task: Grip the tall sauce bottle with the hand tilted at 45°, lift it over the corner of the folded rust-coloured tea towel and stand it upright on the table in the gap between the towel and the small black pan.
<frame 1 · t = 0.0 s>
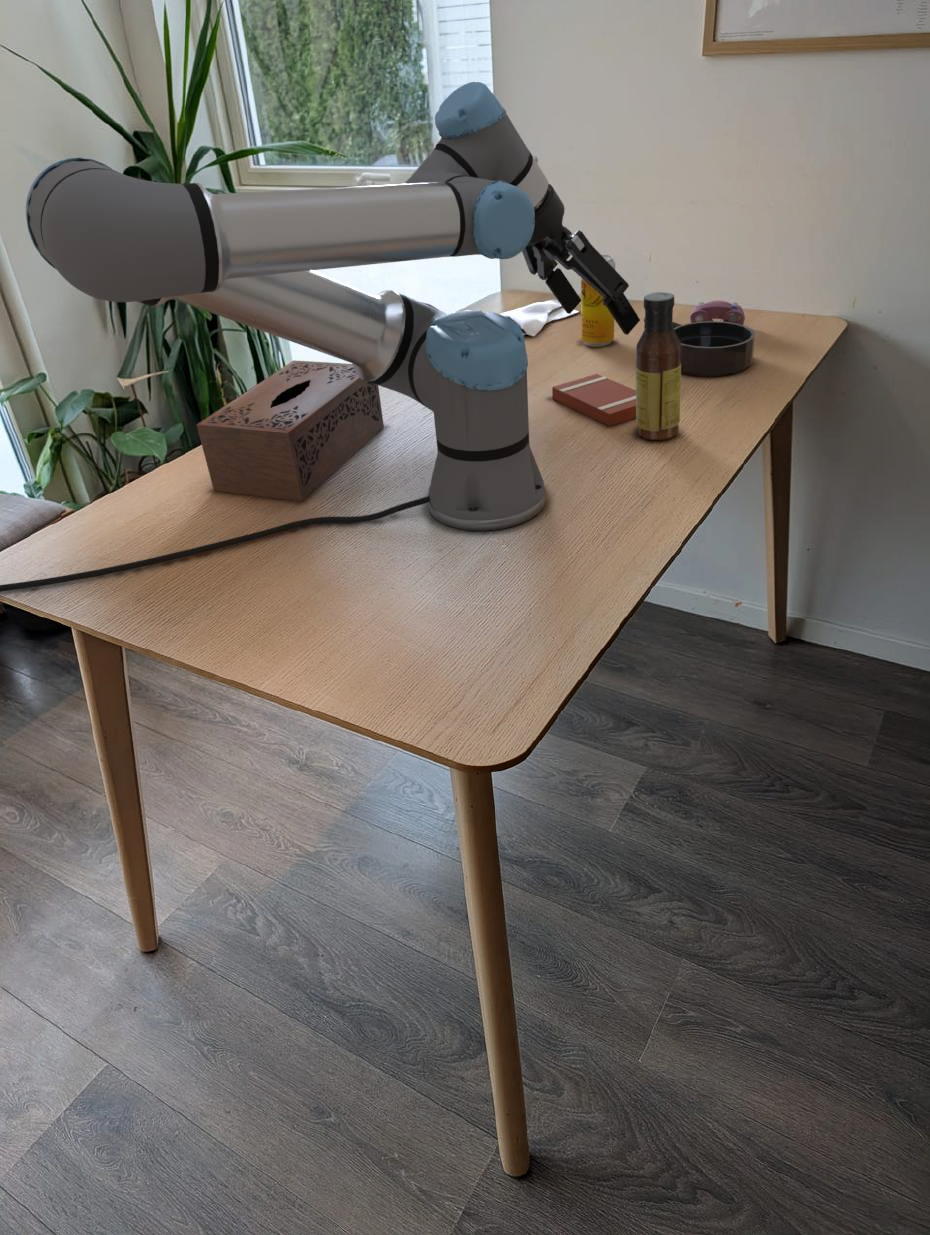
hand: (602, 316, 129), 15 cm above the table, tool tilted 35°, fingers open, 13 cm apart
sauce bottle: (656, 435, 131), on the table
beer can: (597, 343, 166), on the table
tissue box cover: (303, 458, 134), on the table
video game controller: (715, 331, 167), on the table
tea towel: (602, 404, 141), on the table
pan: (708, 363, 153), on the table
cloth: (528, 322, 181), on the table
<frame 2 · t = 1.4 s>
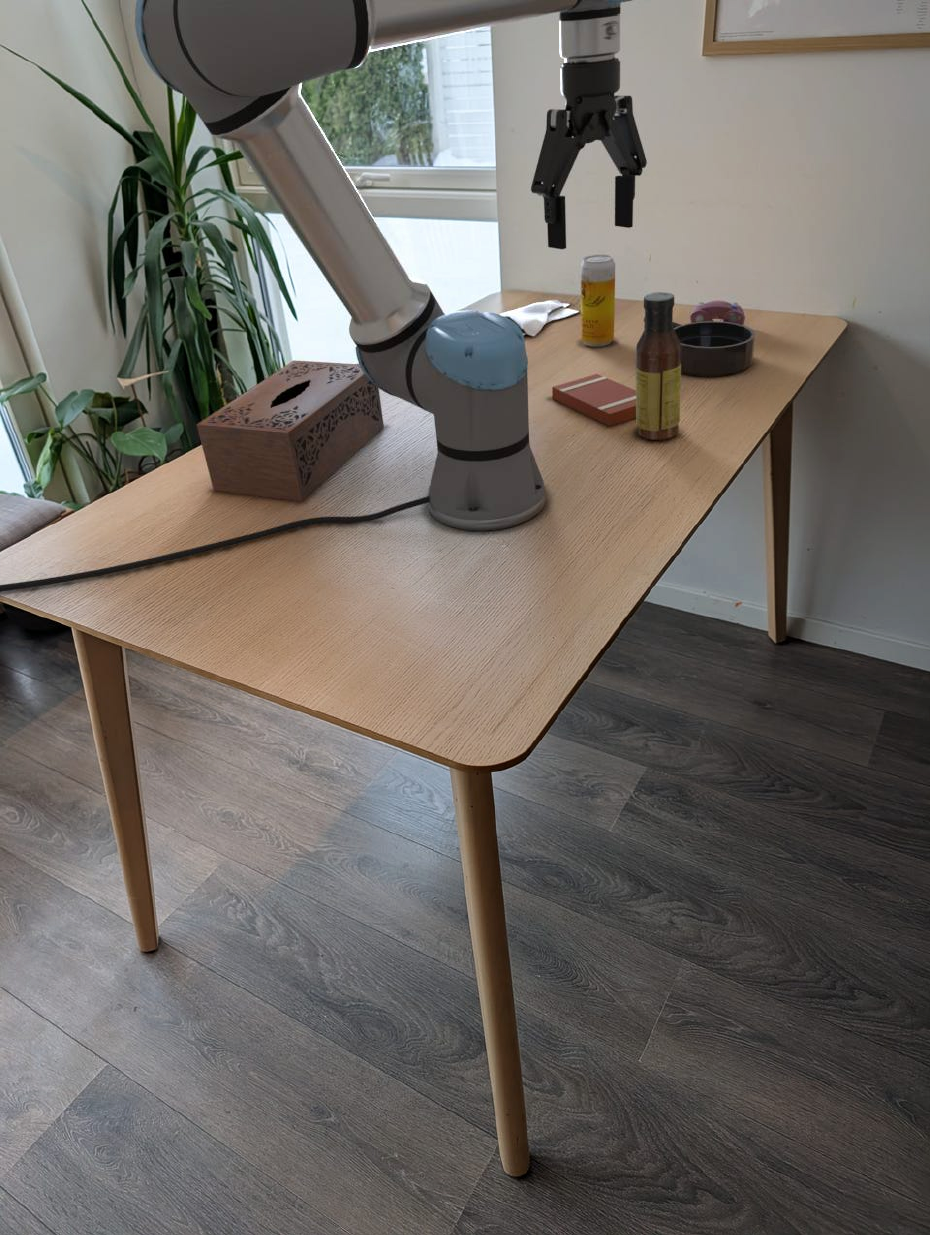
hand: (591, 237, 125), 26 cm above the table, tool pointing down, fingers open, 13 cm apart
nothing on the table moved.
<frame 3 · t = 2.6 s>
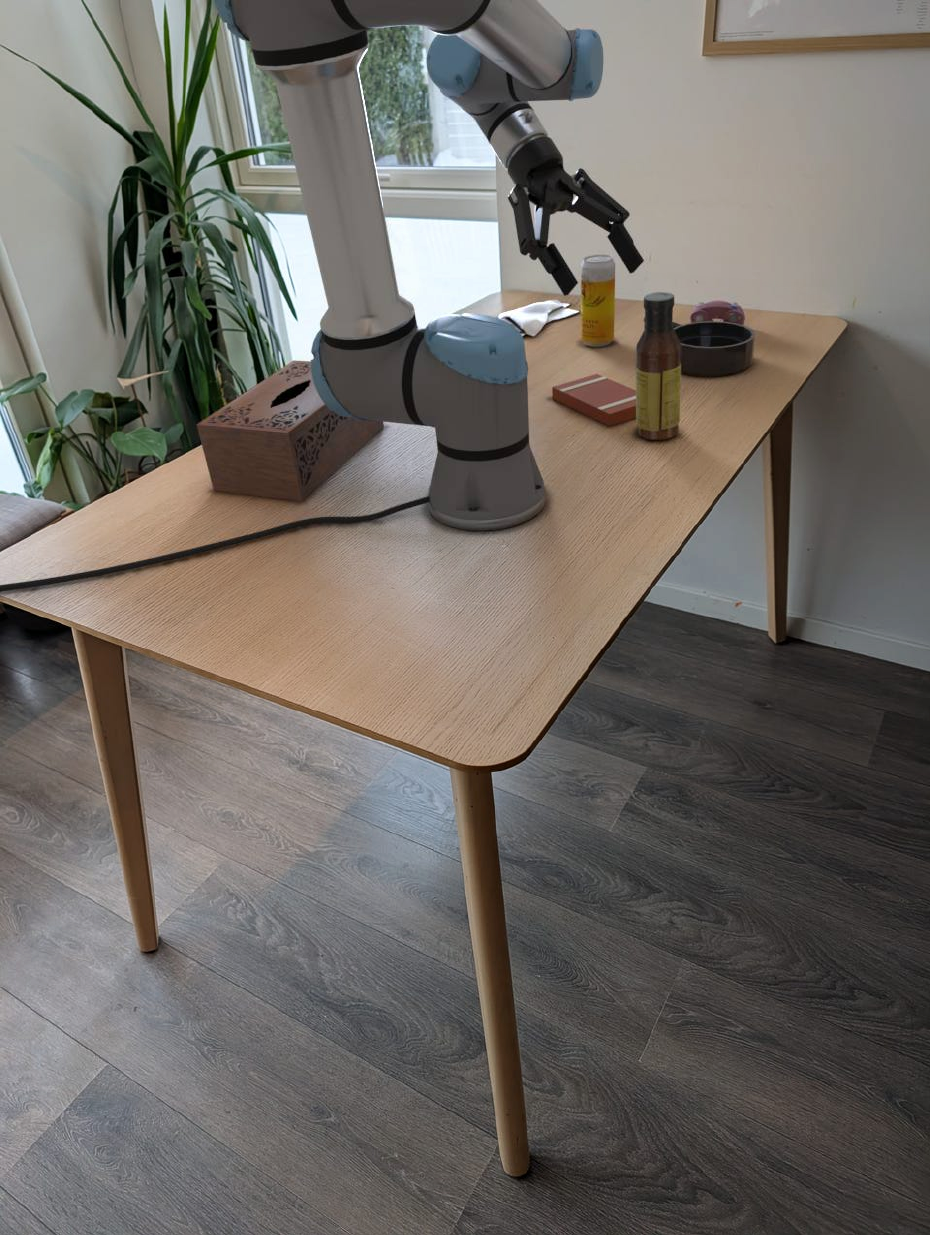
hand: (605, 278, 126), 21 cm above the table, tool tilted 45°, fingers open, 13 cm apart
nothing on the table moved.
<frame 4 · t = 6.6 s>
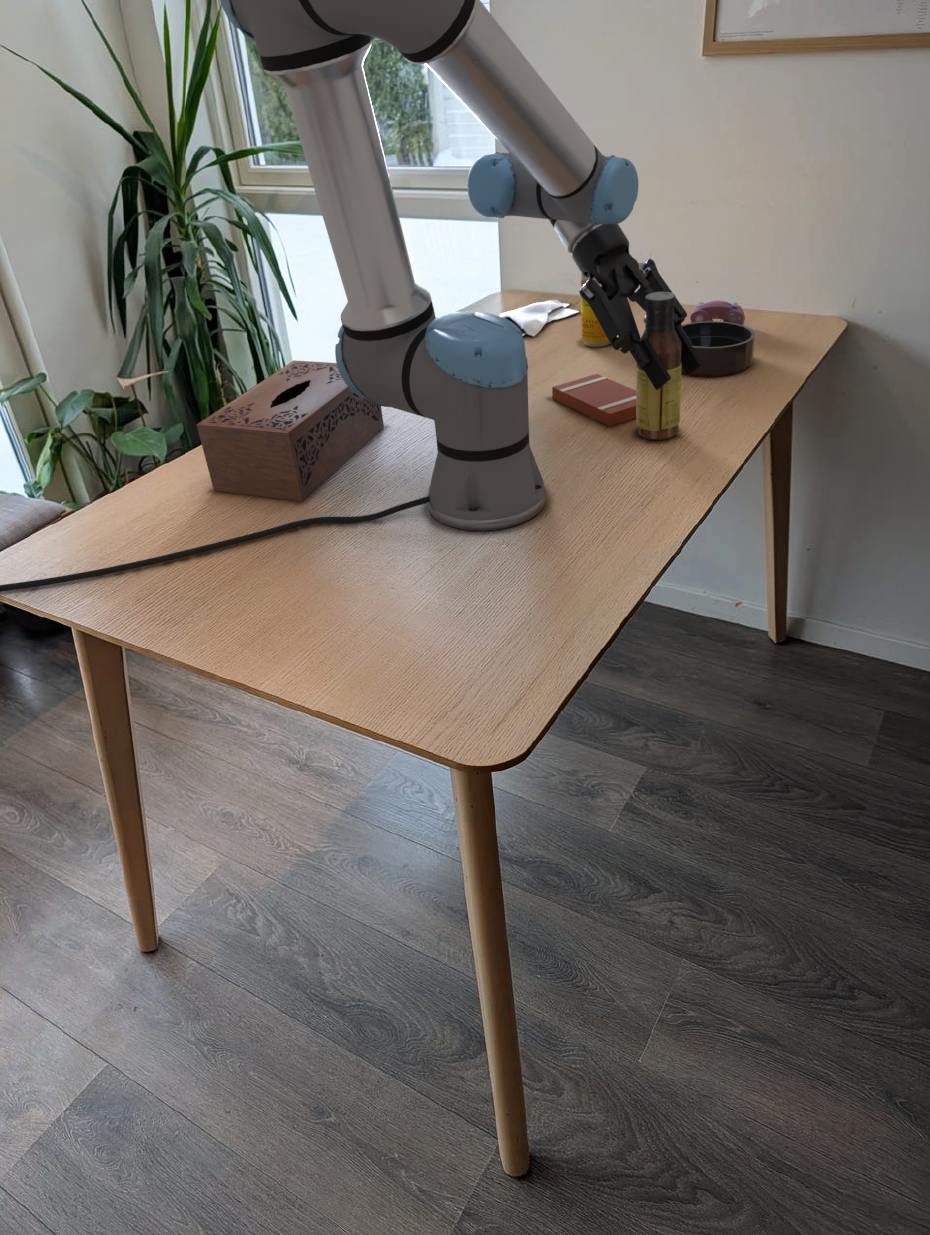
hand: (679, 376, 123), 9 cm above the table, tool tilted 45°, fingers closed on sauce bottle, 6 cm apart
sauce bottle: (656, 434, 131), on the table, touching gripper
everything else where it was.
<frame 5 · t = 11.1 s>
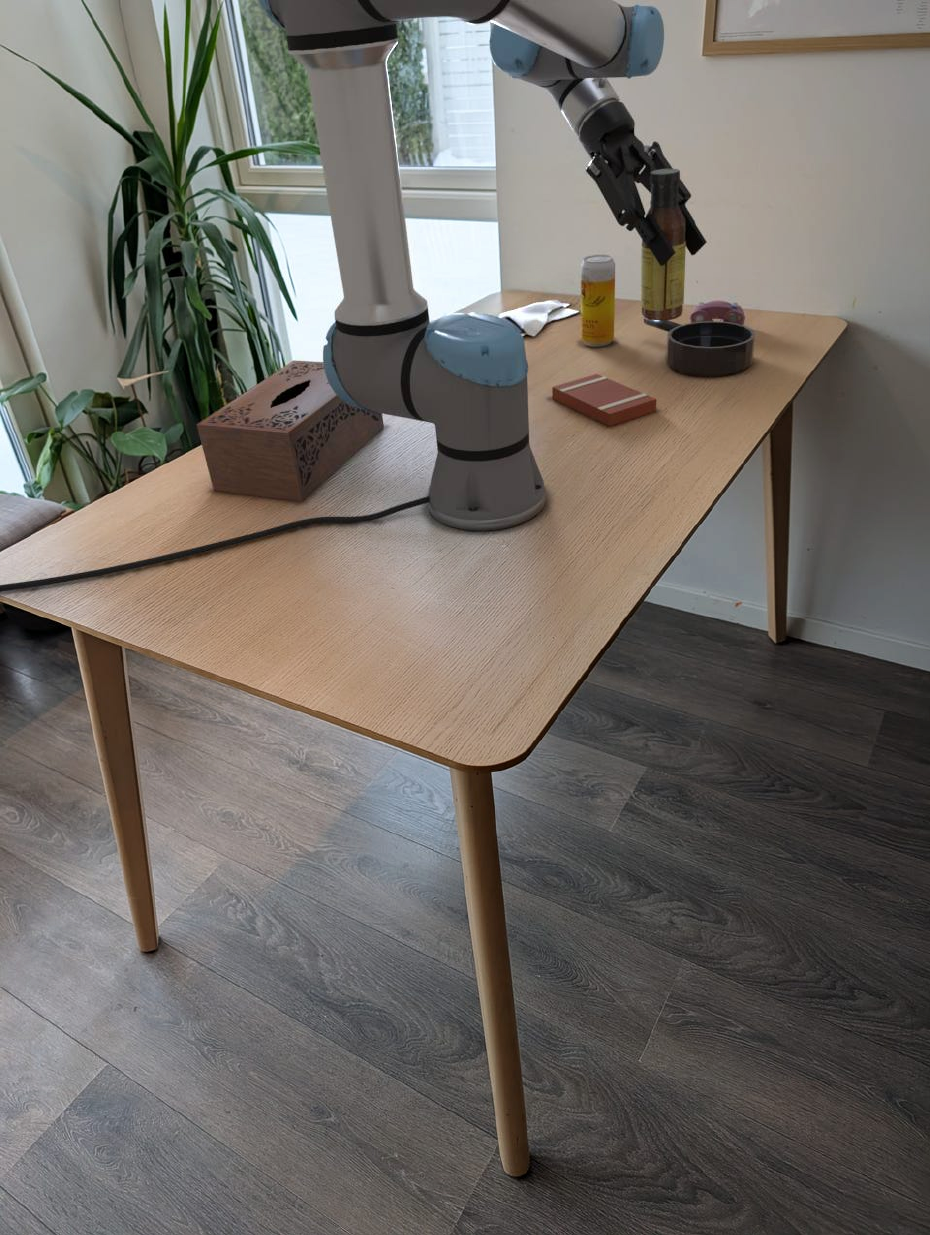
hand: (683, 253, 126), 23 cm above the table, tool tilted 45°, fingers closed on sauce bottle, 6 cm apart
sauce bottle: (660, 317, 134), point 13 cm above the table, touching gripper
everything else where it was.
when the fingers open (9 cm above the table, at t = 15.7 s): sauce bottle stays where it is, on the table.
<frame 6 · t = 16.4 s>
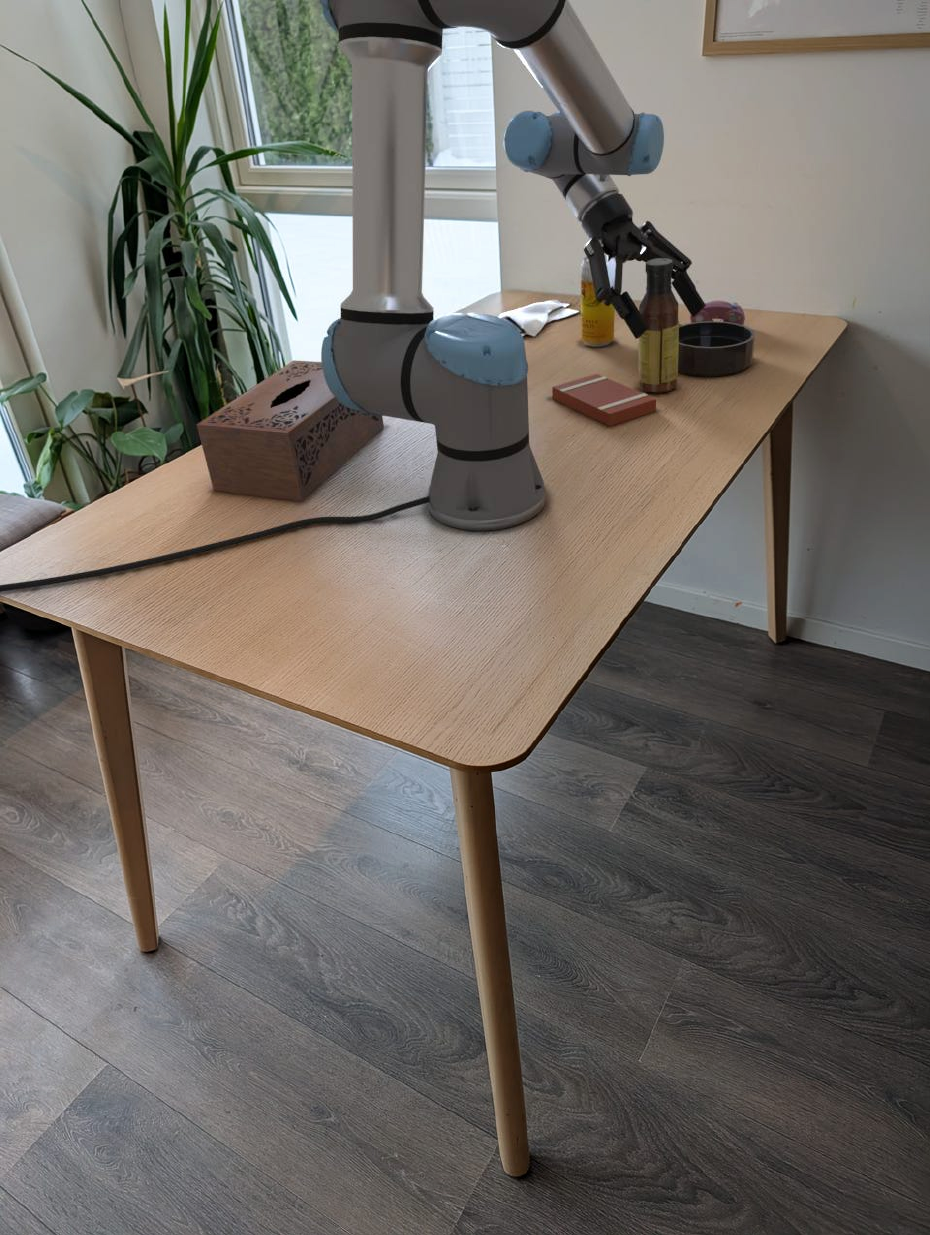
hand: (671, 322, 138), 11 cm above the table, tool tilted 45°, fingers open, 13 cm apart
sauce bottle: (656, 389, 146), on the table
everything else where it was.
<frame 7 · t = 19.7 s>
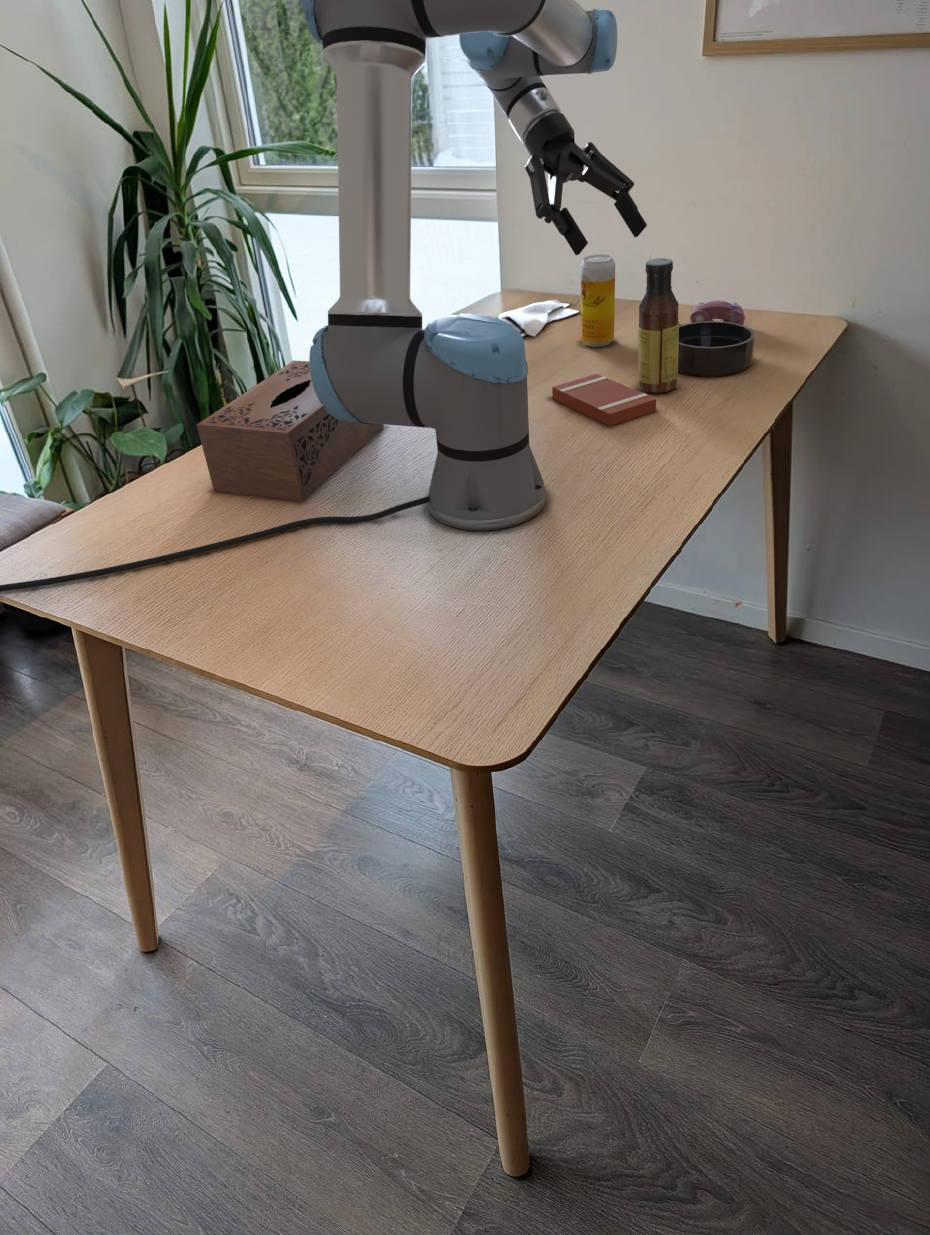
hand: (612, 240, 140), 22 cm above the table, tool tilted 45°, fingers open, 13 cm apart
nothing on the table moved.
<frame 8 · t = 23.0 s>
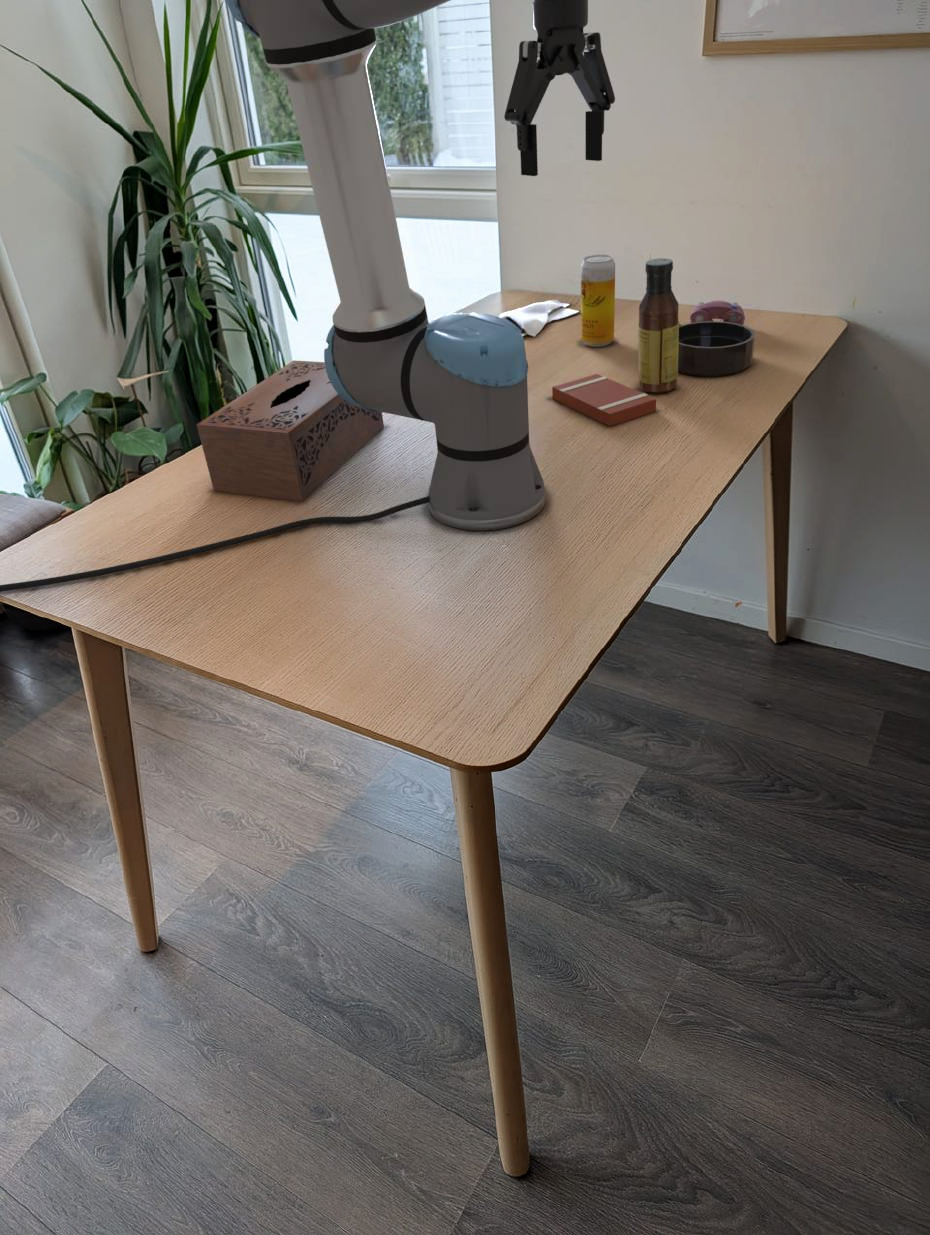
hand: (562, 167, 133), 33 cm above the table, tool pointing down, fingers open, 13 cm apart
nothing on the table moved.
at the end: sauce bottle inside the target area (0.6 cm from its centre), on the table; sauce bottle tilted 0°; the gripper is holding nothing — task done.
